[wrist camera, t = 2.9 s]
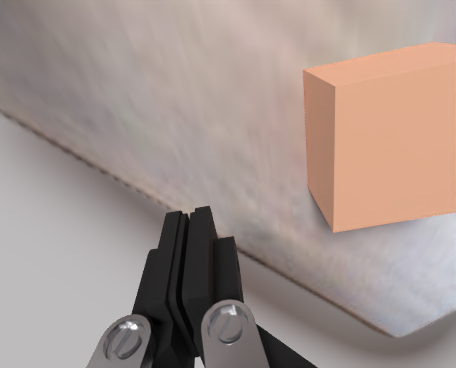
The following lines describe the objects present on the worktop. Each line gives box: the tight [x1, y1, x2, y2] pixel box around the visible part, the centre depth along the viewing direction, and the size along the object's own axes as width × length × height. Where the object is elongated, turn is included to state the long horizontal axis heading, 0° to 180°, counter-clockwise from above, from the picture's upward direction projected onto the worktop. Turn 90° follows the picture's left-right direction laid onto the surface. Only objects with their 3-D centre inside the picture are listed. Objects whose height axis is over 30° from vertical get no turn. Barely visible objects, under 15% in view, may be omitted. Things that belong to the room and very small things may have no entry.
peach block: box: [303, 42, 456, 233], centre depth 15 cm, size 7×8×5 cm
